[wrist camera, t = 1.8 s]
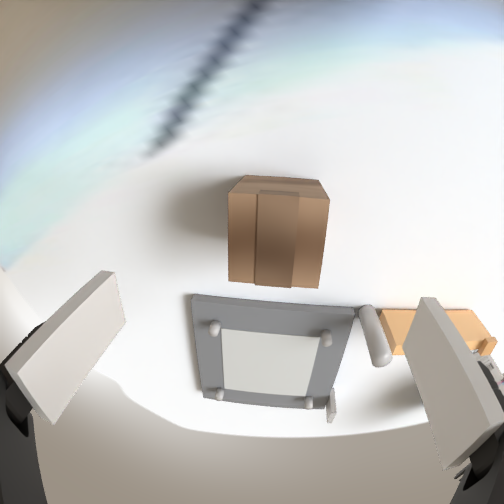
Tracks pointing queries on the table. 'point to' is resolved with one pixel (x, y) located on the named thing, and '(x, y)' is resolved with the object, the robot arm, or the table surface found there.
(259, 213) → the walnut block
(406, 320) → the lid gate
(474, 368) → the robot arm
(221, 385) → the housing
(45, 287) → the table surface
